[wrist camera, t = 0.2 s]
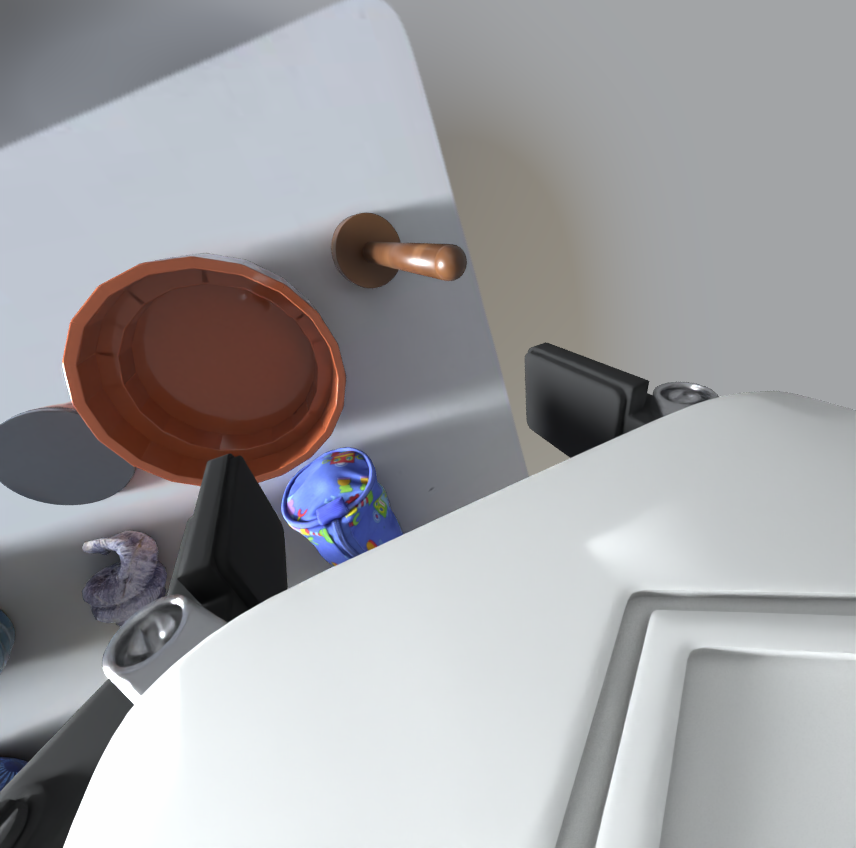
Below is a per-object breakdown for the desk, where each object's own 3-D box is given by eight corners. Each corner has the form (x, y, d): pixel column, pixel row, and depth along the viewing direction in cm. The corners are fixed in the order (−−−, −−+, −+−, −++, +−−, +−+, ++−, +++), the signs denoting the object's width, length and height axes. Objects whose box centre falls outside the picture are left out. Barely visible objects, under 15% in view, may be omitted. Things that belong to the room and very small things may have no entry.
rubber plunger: (346, 199, 25) (435, 156, 12) (404, 237, 28) (530, 236, 15) (321, 266, 27) (376, 294, 13) (378, 296, 29) (473, 345, 16)
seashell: (117, 511, 30) (152, 587, 35) (41, 560, 25) (94, 640, 30) (166, 527, 29) (196, 603, 34) (96, 580, 24) (142, 660, 29)
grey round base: (-2, 392, 23) (-8, 395, 22) (148, 424, 27) (146, 428, 26) (-17, 491, 25) (-23, 496, 24) (125, 507, 29) (122, 512, 28)
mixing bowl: (134, 205, 21) (94, 195, 16) (360, 312, 29) (379, 327, 24) (85, 418, 25) (41, 462, 20) (296, 462, 33) (302, 501, 28)
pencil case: (427, 553, 46) (460, 618, 38) (370, 589, 45) (391, 663, 37) (355, 428, 34) (382, 484, 26) (272, 471, 32) (274, 545, 25)
